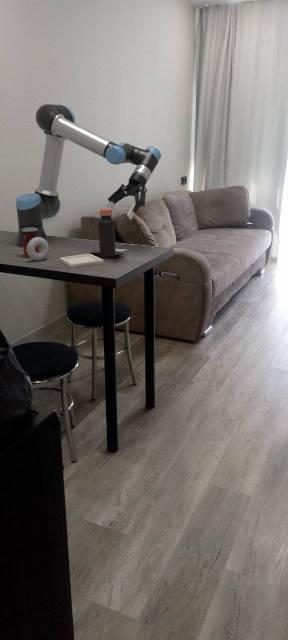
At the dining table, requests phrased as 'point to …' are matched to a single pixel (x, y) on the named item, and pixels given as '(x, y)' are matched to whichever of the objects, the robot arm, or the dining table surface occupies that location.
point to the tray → (81, 260)
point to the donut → (33, 244)
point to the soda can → (29, 238)
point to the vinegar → (106, 234)
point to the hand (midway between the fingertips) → (117, 216)
